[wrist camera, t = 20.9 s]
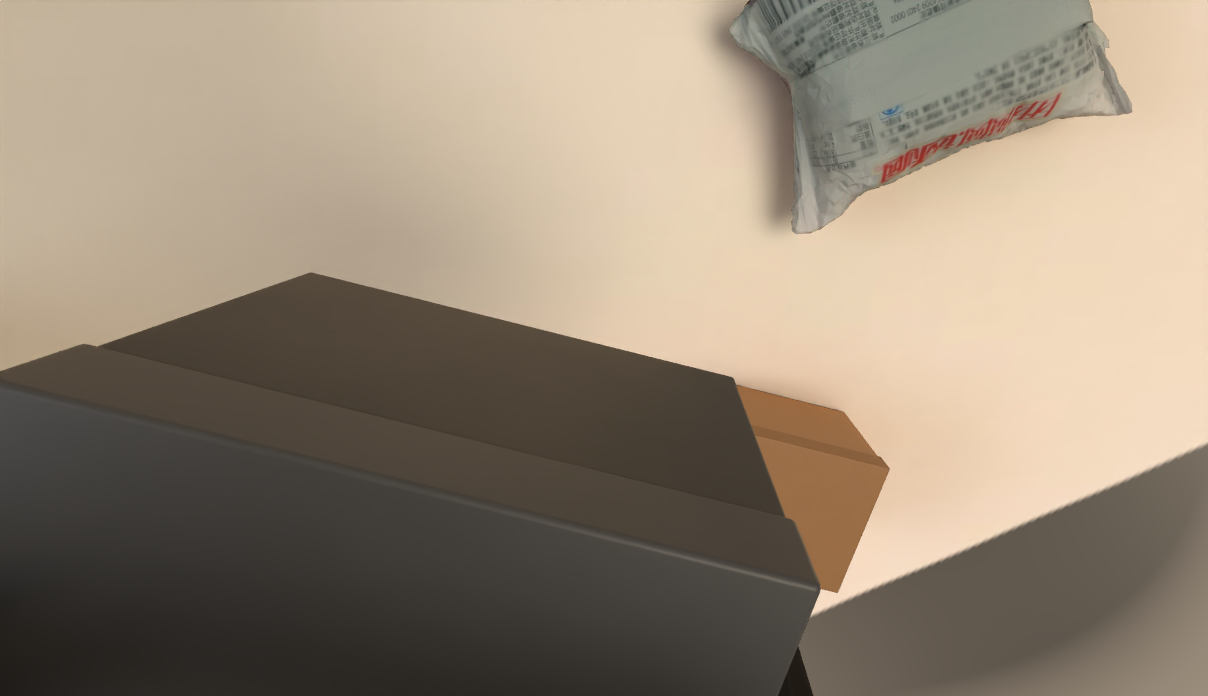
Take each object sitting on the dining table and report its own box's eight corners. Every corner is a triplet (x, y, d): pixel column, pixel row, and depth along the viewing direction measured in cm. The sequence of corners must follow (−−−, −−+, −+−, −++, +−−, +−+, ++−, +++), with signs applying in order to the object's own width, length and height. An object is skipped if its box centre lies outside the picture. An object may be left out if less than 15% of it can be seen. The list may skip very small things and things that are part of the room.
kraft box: (724, 380, 29) (741, 431, 24) (846, 411, 29) (890, 468, 24) (690, 488, 31) (699, 559, 26) (805, 517, 31) (837, 593, 26)
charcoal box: (306, 266, 10) (-26, 376, 5) (738, 375, 10) (826, 588, 5) (271, 623, 12) (8, 949, 7) (630, 712, 12) (617, 1097, 7)
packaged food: (1079, 118, 25) (1179, 108, 20) (784, 231, 27) (812, 246, 22) (1030, -120, 23) (1128, -192, 18) (715, 21, 25) (730, -12, 20)
